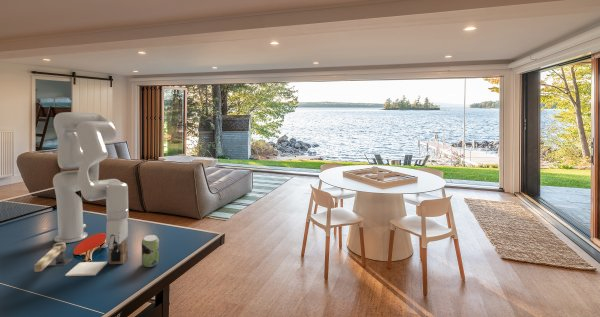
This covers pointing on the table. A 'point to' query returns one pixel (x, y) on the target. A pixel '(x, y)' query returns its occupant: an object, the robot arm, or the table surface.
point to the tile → (86, 269)
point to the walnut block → (121, 253)
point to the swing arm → (51, 256)
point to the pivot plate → (60, 262)
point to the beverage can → (150, 250)
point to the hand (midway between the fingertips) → (118, 257)
